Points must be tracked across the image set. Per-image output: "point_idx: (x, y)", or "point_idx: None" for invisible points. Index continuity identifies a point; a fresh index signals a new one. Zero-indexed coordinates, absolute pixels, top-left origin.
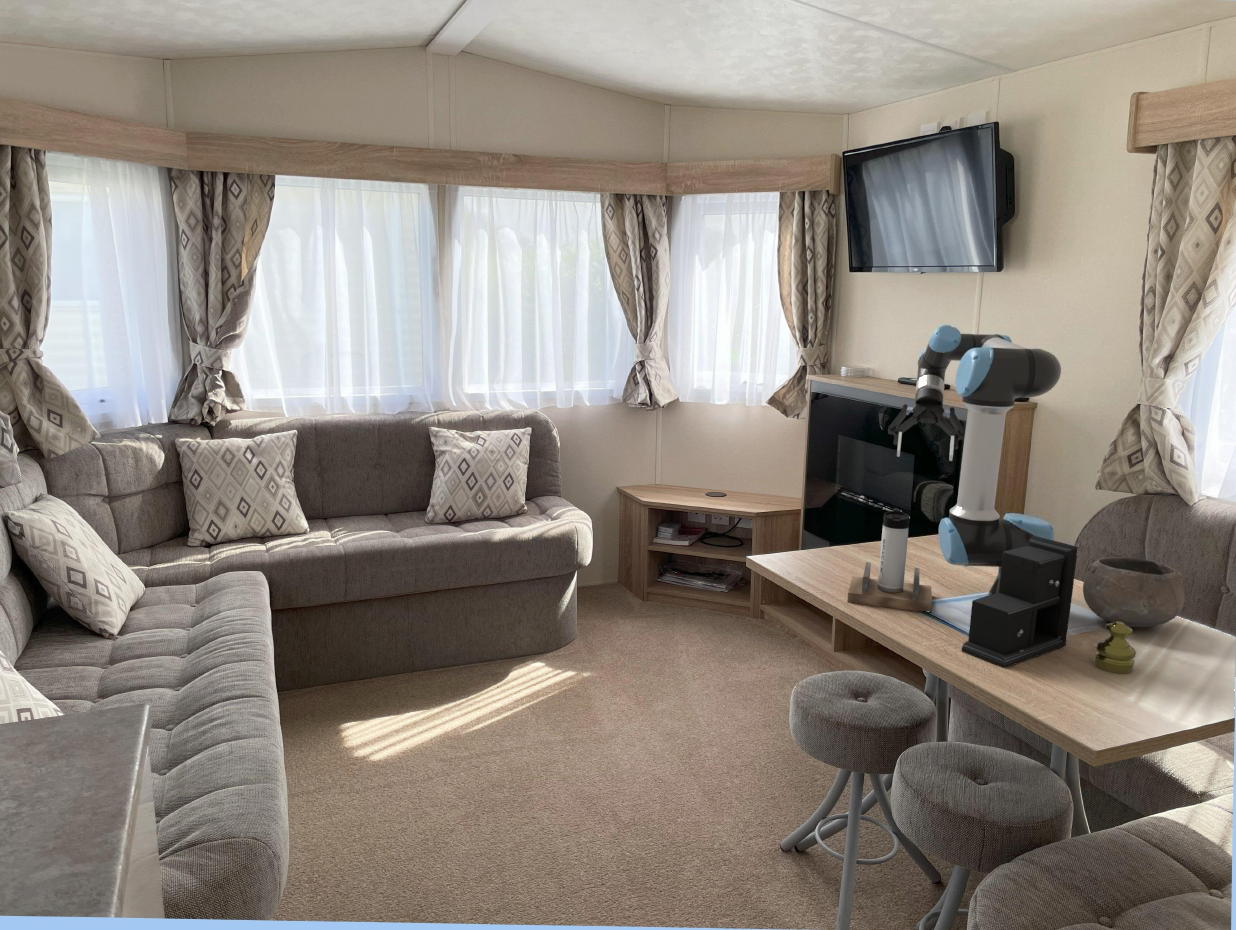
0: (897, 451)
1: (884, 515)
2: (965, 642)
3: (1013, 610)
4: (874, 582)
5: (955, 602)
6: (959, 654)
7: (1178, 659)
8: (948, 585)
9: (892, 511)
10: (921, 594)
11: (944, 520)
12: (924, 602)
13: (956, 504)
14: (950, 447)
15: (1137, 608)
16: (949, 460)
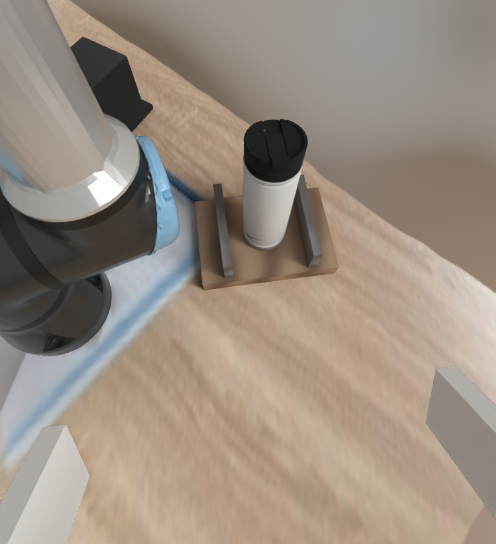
0: (451, 371)
1: (303, 130)
2: (147, 104)
3: (74, 44)
4: (295, 253)
5: (163, 274)
6: (155, 100)
7: None
8: (177, 365)
9: (292, 158)
10: (213, 231)
11: (156, 151)
12: (205, 200)
13: (114, 145)
14: (27, 527)
15: None
16: (87, 474)
